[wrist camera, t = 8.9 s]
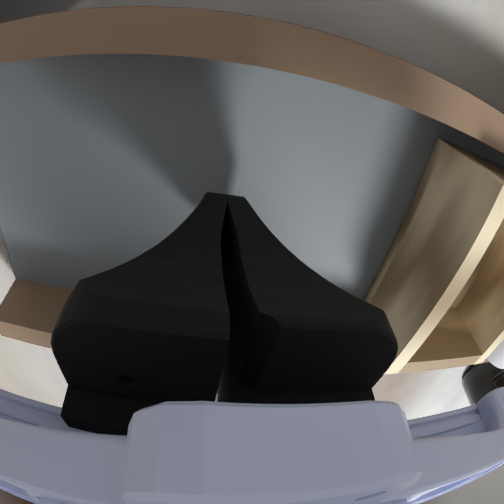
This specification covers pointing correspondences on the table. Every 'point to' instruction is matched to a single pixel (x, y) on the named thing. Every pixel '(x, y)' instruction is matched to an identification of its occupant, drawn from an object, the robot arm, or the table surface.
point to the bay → (208, 143)
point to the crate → (447, 266)
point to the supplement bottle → (482, 381)
